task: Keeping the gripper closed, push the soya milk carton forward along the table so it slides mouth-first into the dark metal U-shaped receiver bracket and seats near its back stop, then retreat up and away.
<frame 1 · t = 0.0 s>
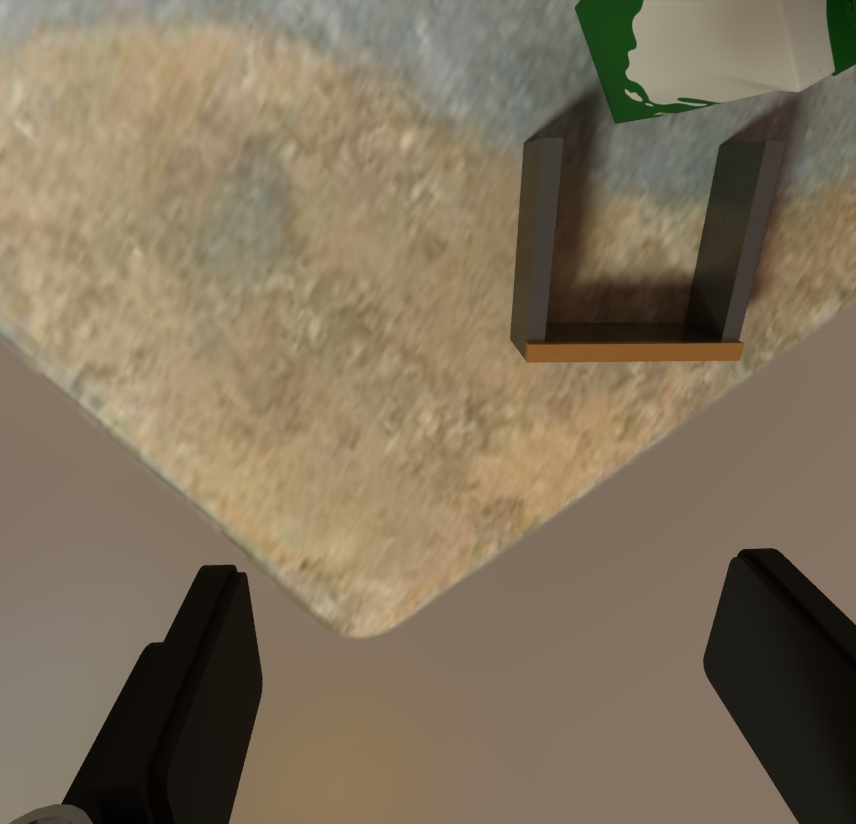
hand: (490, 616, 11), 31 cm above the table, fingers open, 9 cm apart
receiver bracket: (618, 239, 38), on the table
soya milk: (645, 37, 34), on the table
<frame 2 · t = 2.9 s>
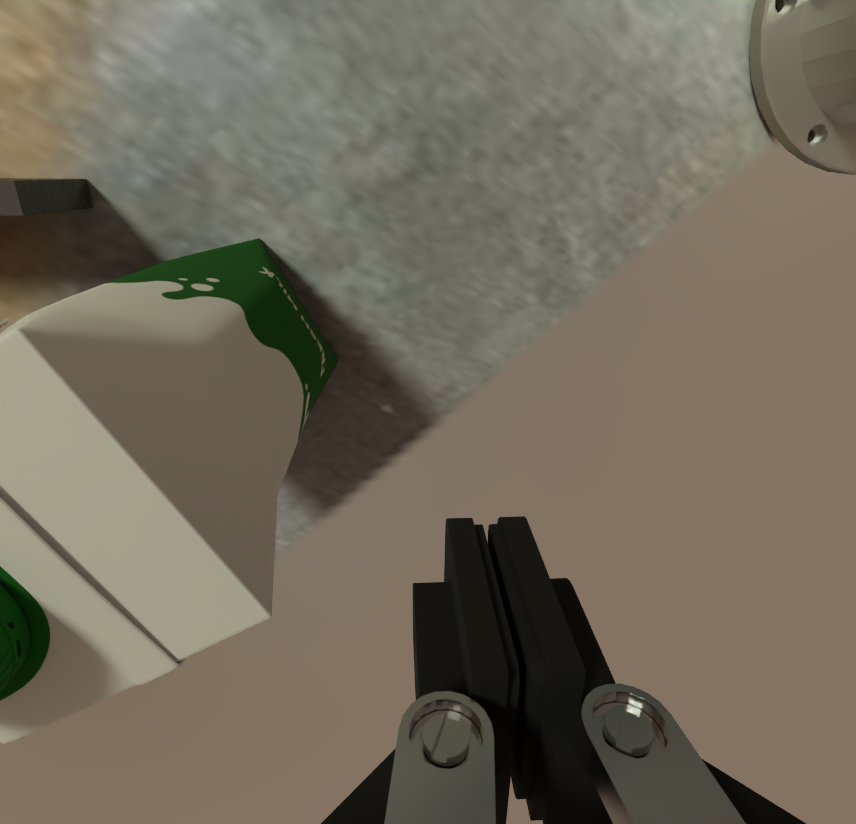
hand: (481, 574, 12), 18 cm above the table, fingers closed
soya milk: (244, 334, 28), on the table
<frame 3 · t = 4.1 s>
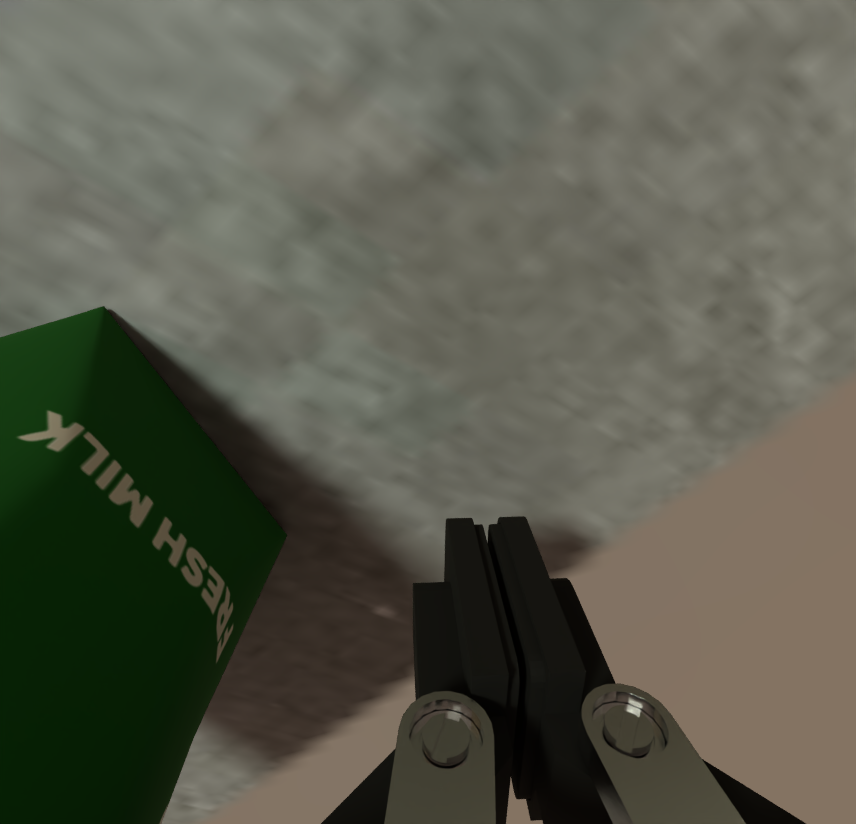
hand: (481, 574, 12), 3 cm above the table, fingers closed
soya milk: (97, 487, 14), on the table
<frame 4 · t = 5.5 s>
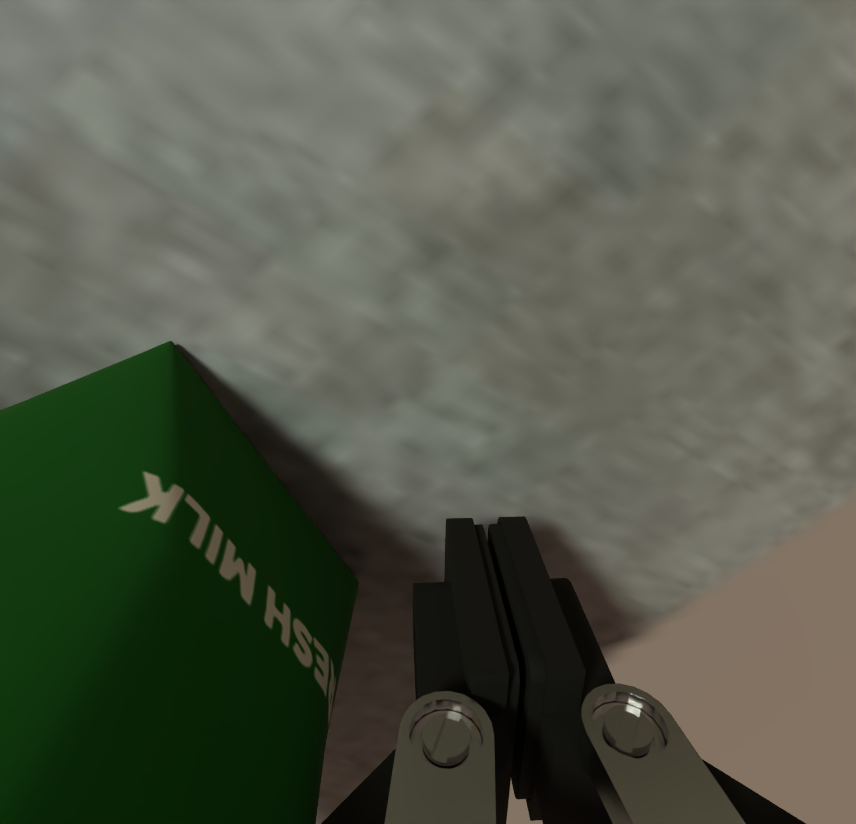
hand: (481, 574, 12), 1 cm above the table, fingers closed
soya milk: (153, 535, 13), on the table, touching gripper
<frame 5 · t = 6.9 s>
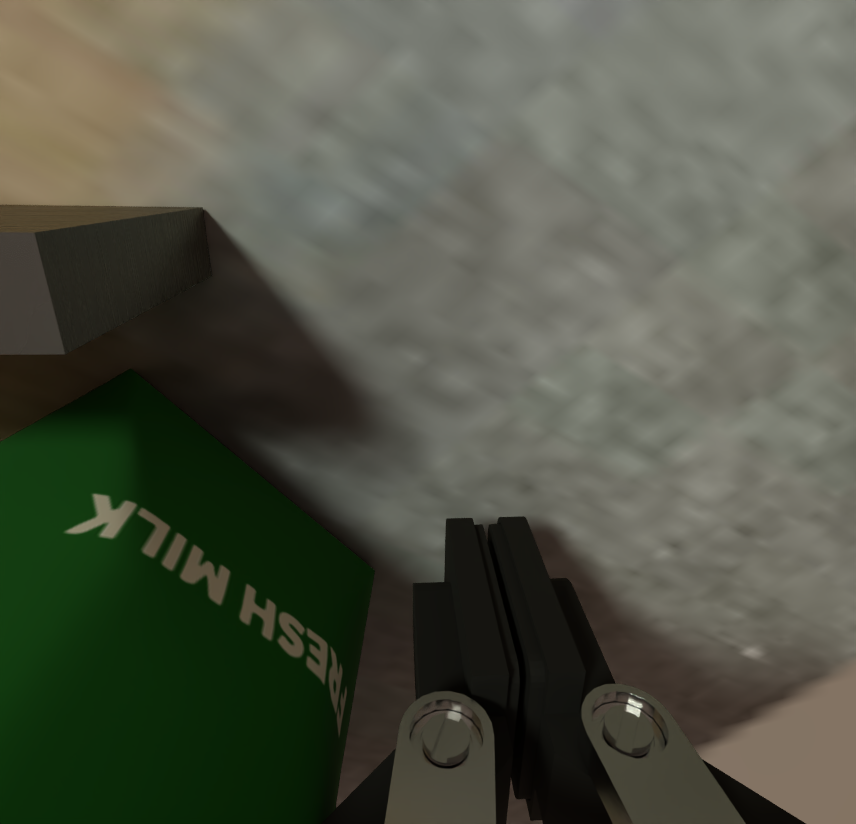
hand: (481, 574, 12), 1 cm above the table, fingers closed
soya milk: (167, 562, 13), on the table, touching gripper
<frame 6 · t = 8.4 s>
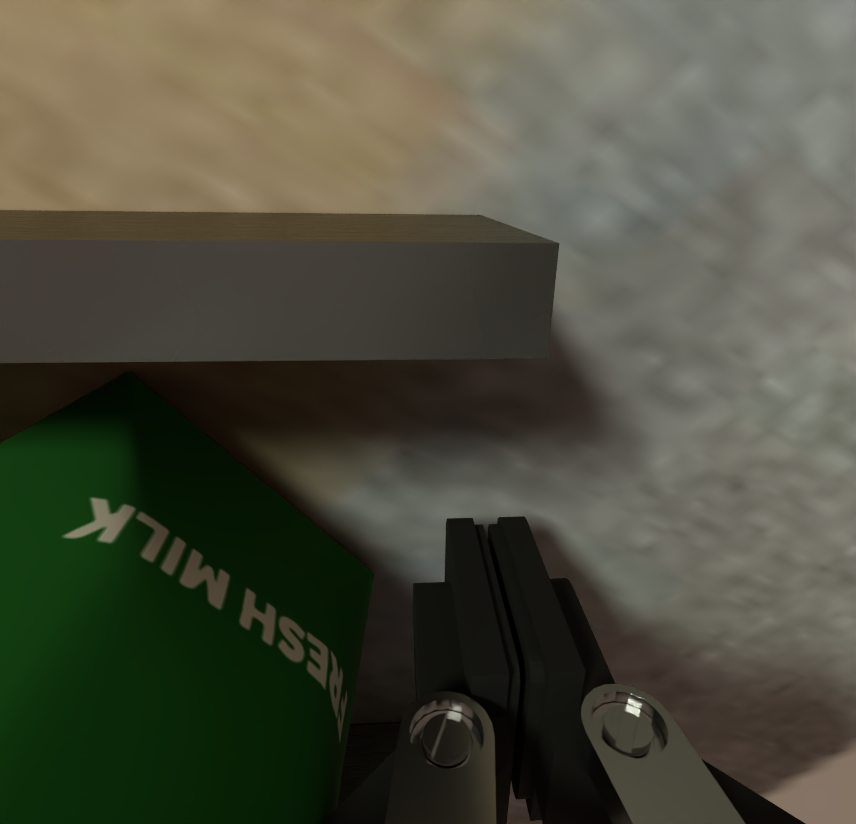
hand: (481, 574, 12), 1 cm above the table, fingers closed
receiver bracket: (203, 548, 12), on the table
soya milk: (165, 566, 13), on the table, touching gripper, receiver bracket
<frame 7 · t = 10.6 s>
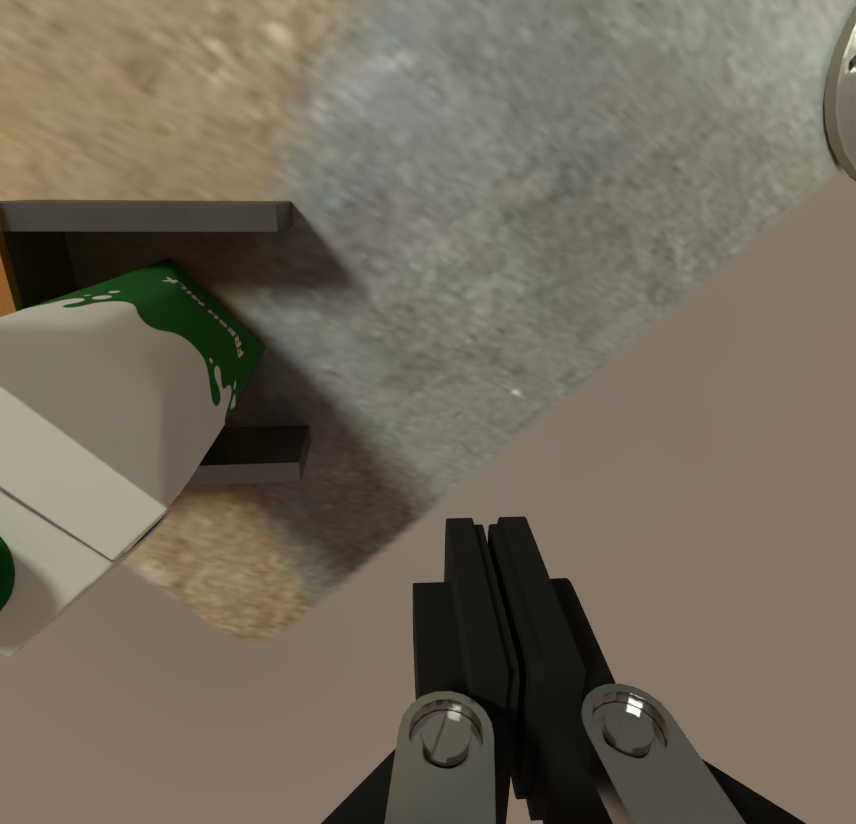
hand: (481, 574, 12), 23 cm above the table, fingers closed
receiver bracket: (196, 333, 32), on the table
soya milk: (181, 343, 32), on the table
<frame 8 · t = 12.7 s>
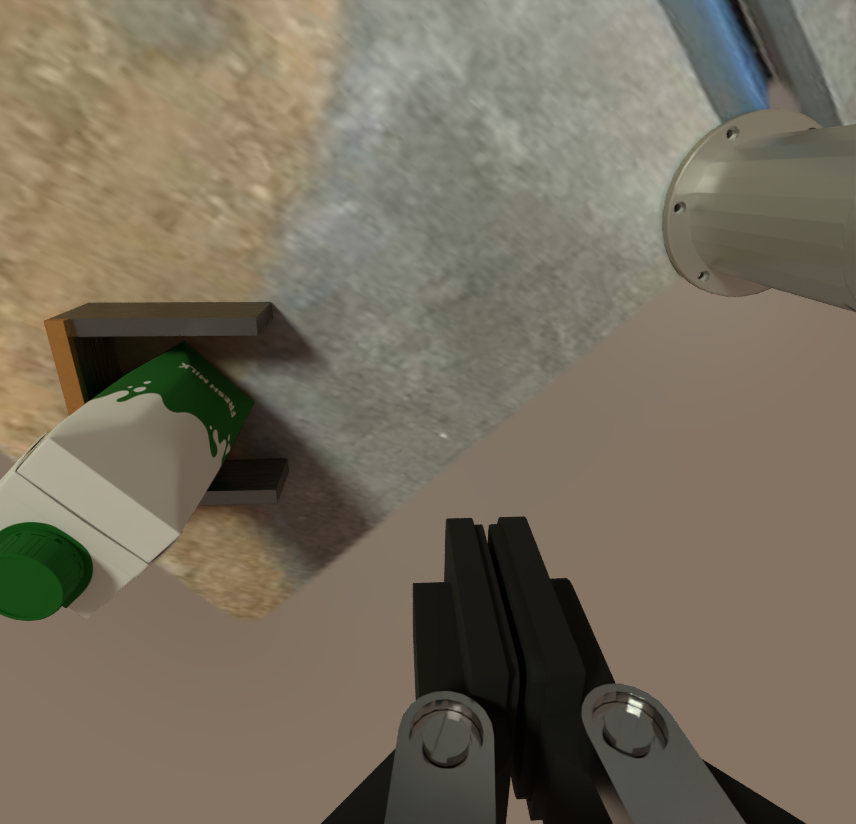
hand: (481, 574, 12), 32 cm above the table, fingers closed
receiver bracket: (203, 393, 43), on the table
soya milk: (193, 399, 44), on the table
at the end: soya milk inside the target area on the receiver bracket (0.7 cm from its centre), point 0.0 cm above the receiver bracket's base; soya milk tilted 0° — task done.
